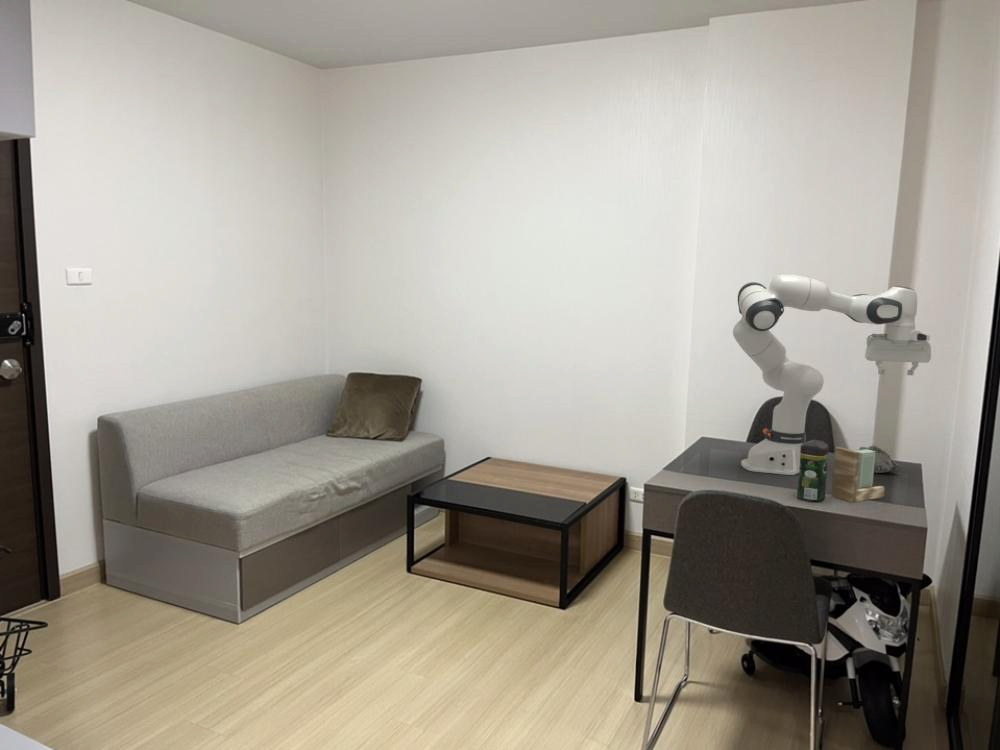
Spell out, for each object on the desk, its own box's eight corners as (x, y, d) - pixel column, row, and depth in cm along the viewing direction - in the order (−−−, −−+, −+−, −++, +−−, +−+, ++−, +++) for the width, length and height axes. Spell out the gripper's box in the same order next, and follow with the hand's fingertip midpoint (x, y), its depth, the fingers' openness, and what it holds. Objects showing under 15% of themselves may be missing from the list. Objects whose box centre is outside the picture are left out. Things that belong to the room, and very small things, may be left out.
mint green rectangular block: (858, 495, 244) (862, 453, 242) (850, 493, 247) (854, 451, 245) (871, 493, 247) (875, 451, 245) (863, 490, 249) (867, 449, 247)
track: (850, 502, 240) (855, 453, 237) (831, 495, 246) (835, 447, 244) (883, 496, 246) (888, 448, 244) (864, 490, 253) (868, 443, 250)
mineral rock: (900, 474, 273) (902, 447, 272) (886, 479, 266) (889, 451, 265) (864, 466, 283) (866, 440, 281) (850, 471, 276) (852, 444, 275)
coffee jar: (801, 491, 250) (806, 436, 247) (827, 496, 245) (832, 440, 243) (793, 499, 242) (798, 442, 239) (819, 504, 238) (824, 446, 235)
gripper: (870, 334, 257) (866, 374, 259) (935, 336, 254) (930, 377, 256) (864, 332, 263) (860, 372, 265) (927, 334, 260) (923, 374, 262)
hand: (895, 374), depth 260 cm, fingers open, 8 cm apart
